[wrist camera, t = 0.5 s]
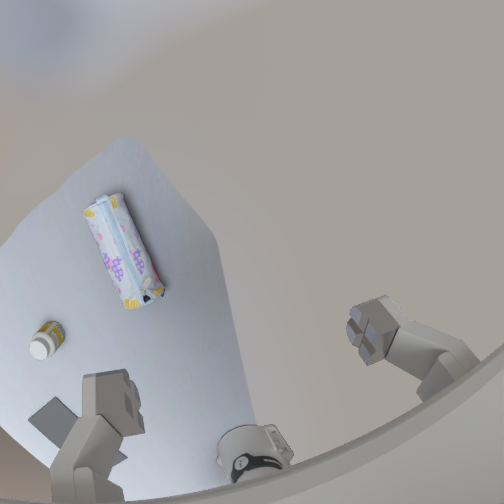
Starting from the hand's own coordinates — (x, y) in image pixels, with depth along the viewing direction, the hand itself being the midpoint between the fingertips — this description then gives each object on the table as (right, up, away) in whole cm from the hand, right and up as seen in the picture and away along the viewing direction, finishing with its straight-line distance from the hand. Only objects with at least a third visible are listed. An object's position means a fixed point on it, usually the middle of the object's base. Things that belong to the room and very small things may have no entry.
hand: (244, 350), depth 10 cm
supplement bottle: (-42, -14, +45) cm, 63 cm away
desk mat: (-44, -44, +49) cm, 79 cm away
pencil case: (-24, +4, +48) cm, 54 cm away
